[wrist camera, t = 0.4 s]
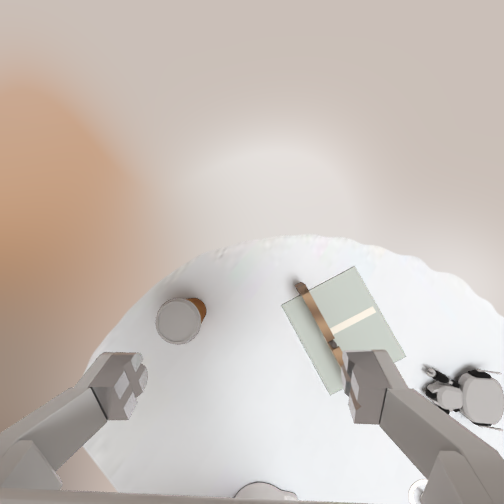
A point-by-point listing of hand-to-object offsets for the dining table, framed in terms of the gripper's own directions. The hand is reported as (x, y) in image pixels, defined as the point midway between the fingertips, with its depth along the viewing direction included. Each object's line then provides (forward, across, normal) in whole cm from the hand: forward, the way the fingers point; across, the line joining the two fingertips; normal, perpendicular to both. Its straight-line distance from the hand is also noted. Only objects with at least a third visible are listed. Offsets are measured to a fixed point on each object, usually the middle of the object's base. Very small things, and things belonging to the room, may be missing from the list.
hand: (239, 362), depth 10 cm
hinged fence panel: (+42, +10, -29) cm, 52 cm away
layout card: (+40, +17, -35) cm, 56 cm away
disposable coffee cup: (+42, -19, -29) cm, 55 cm away
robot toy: (+35, +42, -48) cm, 73 cm away
